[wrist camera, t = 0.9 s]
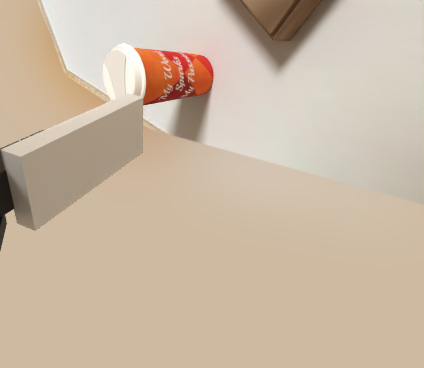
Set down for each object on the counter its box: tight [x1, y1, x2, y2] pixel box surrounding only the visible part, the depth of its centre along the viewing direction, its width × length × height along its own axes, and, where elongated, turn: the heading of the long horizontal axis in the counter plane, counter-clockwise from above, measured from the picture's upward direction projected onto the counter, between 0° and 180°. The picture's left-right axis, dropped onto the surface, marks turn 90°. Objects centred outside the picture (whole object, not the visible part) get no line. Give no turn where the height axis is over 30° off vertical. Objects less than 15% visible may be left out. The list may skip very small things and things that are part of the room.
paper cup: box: [103, 43, 213, 105], centre depth 47 cm, size 8×8×14 cm
